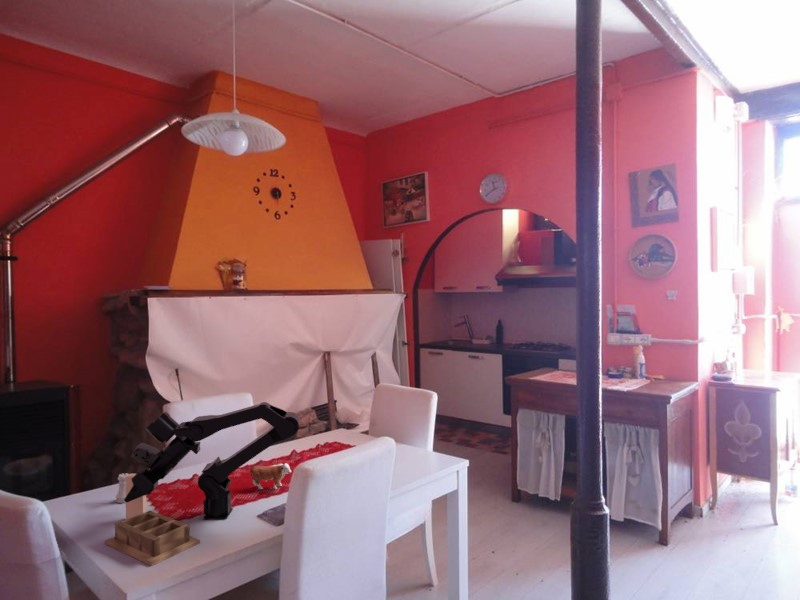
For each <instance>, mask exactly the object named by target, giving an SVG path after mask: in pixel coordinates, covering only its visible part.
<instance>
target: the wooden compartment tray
mask: <svg viewBox="0 0 800 600" xmlns="http://www.w3.org/2000/svg"><path fill="white" fill-rule="evenodd" d="M190 533H191V532H190V524H187V523H184V522H181V521H179V520H176V519H174V518H172V517H168V516H165V515H163V514H161V513H158V512H155V511H152V510H148V511H146V512H145V513H143V514H140V515H137V516H135V517H132V518H129V519H127V520H126V519H125V520H122V521H119V522H116V523H114V536H113V537H111V538H109V539H106V540H104V545H106V546H109V547H110V548H113V549H115V550H117V551H118V552H121V551H122V552H121V553H123V552H124V553H123V554H125V553H126V554H125V555H127V554H128V555H127V556H129V555H130V557H131V558H134V559H136V560H138V559H139V561H141V562H142V561H143V563H145V564H146V563H147V565H149V566H151V567H152V566H154V565H156V564H158V563H160V562H163V561H164V560H167V559H170V558H172V557H173V556H175V555H178V554H180V553H182V552H185V551H186V550H188V549H191V548H193V547H194V546H197V545H199V544H200V543H201V540H200V539H198V538H196V537H194V536H190Z"/></svg>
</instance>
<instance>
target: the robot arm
mask: <svg viewBox="0 0 800 600" xmlns="http://www.w3.org/2000/svg"><path fill="white" fill-rule="evenodd" d="M260 419H262V420H263V421H264V422H266V423H268V424H269V425H270V426H271V427H270V428H269V429H267V431H265V432H264V433H262V434H261V435H259V436H257V438H255V439H253V440H252V441H251V442H249V443H248V444H247V445H245V446H244V447H242V448H240V449H239V450H237V451H236V452H234V453H233V454H231V455H230V456H228V457H227V458H225V459H221V458H220V456H217V457H216V458H215V459H214V460H212V461H211V462H208V463H207V464H206V465H205V466H204V467H203V469H202V471H201V474H200V475H199V477H198V479H197V485H198V486H197V487H198V488H199V489H200V490H201V491H202V492H203V493H204V494H203V495H204V496H205V498H204V500H203V515H204V516H203V519H204V520H226V519H228V517H229V516H230V515H231V513H232V512H233V511H234V510H233V507H232V490H229V488H230V486H231V484H232V483H231V482H232V479H230V478H229V476H230V475H232V473H233V472H235V471H236V470H238V469H239V468H240V467H242V466H244V465H245V464H247V463H248V462H249V461H251V460H252V459H253V458H255V457H257V456H258V455H260V454H261V453H262V452H263V451H265V450H267V449H268V448H269V447H271V446H273V445H274V444H276V443H280V442H283V441H285V440H287V439H289V438H292V437H294V436H295V435H296V434H297V433H298V432H299V430H300V423H301V418H300V416H299V415H298V414H297V413H296V412H292V411H286V410H284V409H282V408H279V407H277V406H274V405H272V404H271V403H269V402H267V401H262V402H260V403H257V404H254V405H251V406H248V407H243V408H241V409H237V410H233V411H230V412H226V413H223V414H214V415H213V414H207V415H199V416H196V417H195V418H194V419H192V420H188V421H184V422H183V421H182V422H180V423H178V422H177V421H176V420H175V419H174V418H172V417H171V415H170V414H169V413H168V412H167V411H164V412H163V413H162V414H160V416H158V417H157V418H156V419H154V420H153V421H152V422H151V423H150V424H149V425H148V426H147V427H146V428H145V431H147V432H148V433H149V434H150V435H151V436H152V437H154V439H155V440H157V442H159V443H160V444H161V443H168V442H169V441H170V440H171V439H172V438H173V437H174V436H175V437H174V438H173V439H172V440H171V441H170V442H169V443H168V444H166V446H165V447H162V448H161V449H159V448H157V447H155V446H153V445H149V444H148V443H145V442H140V443H139V444H138V445H136V447H135V449H134V451H132V455H131V458H132V459H133V460H138V461H140V462H142V463H146V464H145V467H146V468H147V469H146V468H145V469H140V470H139V471H138V472H137V473H135V474H136V475H135V476H134V477H133V478H132V482H133V487H132V488H131V490H130V492H129V493H128V495H127V496H126V498H125V499H124V501H125V503H126V502H130V501H132V500H134V499H137V498H139V497H142V496H144V495H146V496H148V495H150V494H151V493H152V492H154V490H155V489H156V488H157V487H158V486H159V481H160V480H163V479H164V478H165V477H166V476H167V475H169V473H171V471H172V470H173V469H175V467H177V465H178V464H179V463H180V462H181V461H182V460H183V459H184V458H185V457H186V456H187V455H188V454H190V452H193V453H194V454H196V455H197V454H198V453H199V452H200V451H201V441H203V440H204V439H206V438H209V437H211V436H213V435H214V434H216V433H218V432H220V431H221V430H225V429H228V428H232V427H235V426H239V425H243V424H246V423H249V422H250V423H251V422H253V421H256V420H260Z"/></svg>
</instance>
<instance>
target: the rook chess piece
mask: <svg viewBox="0 0 800 600" xmlns="http://www.w3.org/2000/svg"><path fill="white" fill-rule="evenodd" d="M128 474H129V473H127V472H126V473H119V474H118V477H117V480H118V490H117V491H118V492H117V494H116V496H115V502H116V503H118V504H126V502H125V501H124V499H125V498H126V481H125V477H126V476H127V475H128Z"/></svg>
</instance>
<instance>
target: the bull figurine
mask: <svg viewBox="0 0 800 600" xmlns="http://www.w3.org/2000/svg"><path fill="white" fill-rule="evenodd" d="M249 474H250V477H251V480H252V484H253V486H255V487H256V486H258V487H257V488H258V490H260V489H263V490H264V487H263V486H262V485H261V483H260V482H261V479H262V480H263V481H264V482H265V483H267V482H268V481H270V480H273V483H274V485H273V489H274V490H277V489H278V487H280V486H282V485H283V484H282V483H281V481H282V480H283V478H285V476H286V475H289V474H292V470H291V467H290V463H286V462H285V463H278V464H273V465H269V466H268V465H267V466H266V465H265V466H263V465H261V466H260V465H258V466H254V465H253V466H252V467H251V468H250V470H249ZM277 484H278V487H277ZM282 487H283V486H282Z"/></svg>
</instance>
